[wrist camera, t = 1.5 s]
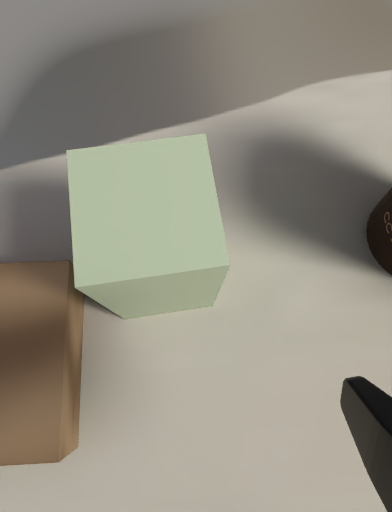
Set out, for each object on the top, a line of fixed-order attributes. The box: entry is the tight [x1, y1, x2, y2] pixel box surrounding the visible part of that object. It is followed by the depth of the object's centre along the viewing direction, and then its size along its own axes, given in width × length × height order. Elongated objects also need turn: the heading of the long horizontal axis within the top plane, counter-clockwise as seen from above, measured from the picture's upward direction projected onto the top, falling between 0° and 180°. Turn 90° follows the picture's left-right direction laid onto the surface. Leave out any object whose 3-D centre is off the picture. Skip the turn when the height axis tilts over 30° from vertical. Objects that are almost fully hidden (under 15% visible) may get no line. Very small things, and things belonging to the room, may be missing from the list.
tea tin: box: [67, 134, 230, 319], centre depth 18 cm, size 6×6×10 cm
